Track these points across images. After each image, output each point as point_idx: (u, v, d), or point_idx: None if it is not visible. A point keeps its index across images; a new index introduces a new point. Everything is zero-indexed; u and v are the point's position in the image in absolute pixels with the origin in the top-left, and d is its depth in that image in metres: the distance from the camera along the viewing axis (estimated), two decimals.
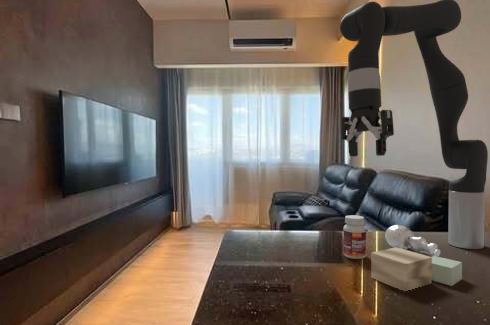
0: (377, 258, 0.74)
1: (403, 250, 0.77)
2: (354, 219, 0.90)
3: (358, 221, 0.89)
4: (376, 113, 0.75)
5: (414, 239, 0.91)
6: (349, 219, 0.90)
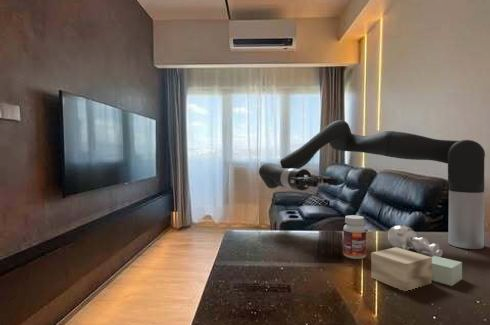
0: (377, 258, 0.74)
1: (403, 250, 0.77)
2: (354, 219, 0.90)
3: (358, 221, 0.89)
4: None
5: (416, 239, 0.91)
6: (349, 219, 0.90)
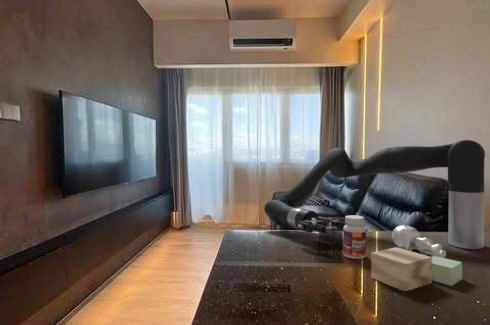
0: (377, 258, 0.74)
1: (403, 250, 0.77)
2: (354, 219, 0.90)
3: (358, 221, 0.89)
4: None
5: (419, 239, 0.90)
6: (349, 219, 0.90)
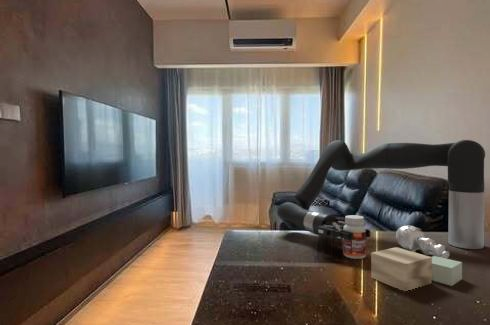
0: (377, 258, 0.74)
1: (403, 250, 0.77)
2: (354, 219, 0.90)
3: (358, 221, 0.89)
4: None
5: (422, 240, 0.90)
6: (349, 219, 0.90)
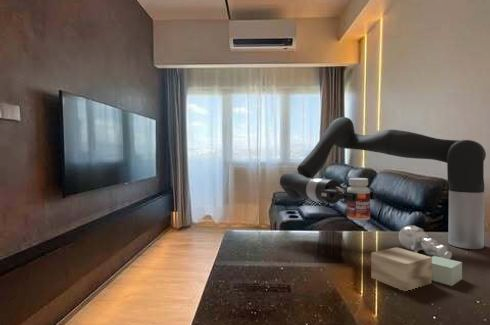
0: (377, 258, 0.74)
1: (403, 250, 0.77)
2: (358, 180, 0.88)
3: (362, 182, 0.87)
4: None
5: (424, 240, 0.90)
6: (353, 180, 0.88)
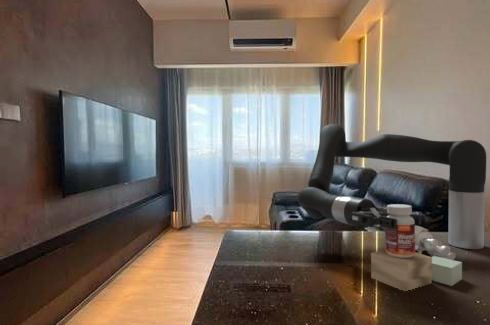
0: (377, 258, 0.74)
1: None
2: (400, 208, 0.72)
3: (405, 211, 0.72)
4: None
5: (427, 240, 0.89)
6: (393, 208, 0.73)
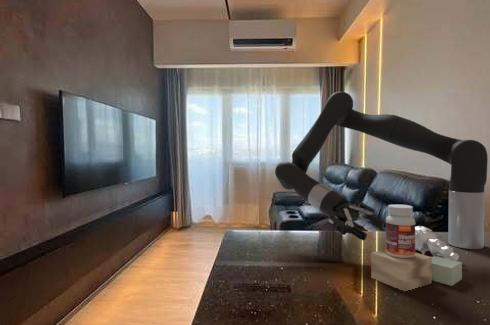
0: (377, 258, 0.74)
1: None
2: (401, 208, 0.72)
3: (407, 211, 0.71)
4: None
5: (430, 241, 0.89)
6: (395, 208, 0.72)
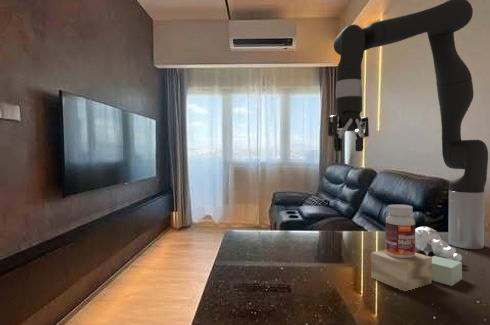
0: (377, 258, 0.74)
1: None
2: (401, 208, 0.72)
3: (406, 211, 0.71)
4: None
5: (433, 241, 0.88)
6: (394, 209, 0.72)
